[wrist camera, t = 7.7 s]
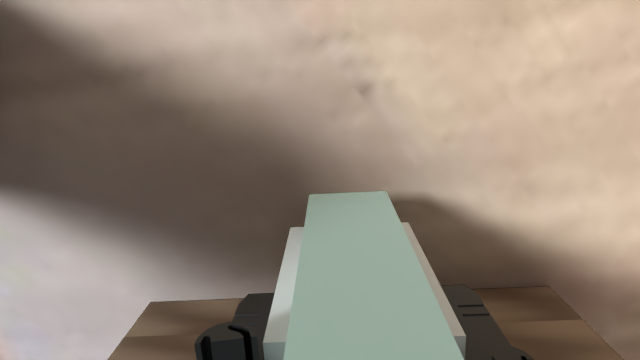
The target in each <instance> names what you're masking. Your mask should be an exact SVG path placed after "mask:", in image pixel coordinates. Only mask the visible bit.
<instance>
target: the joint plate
mask: <svg viewBox="0 0 640 360" xmlns="http://www.w3.org/2000/svg"><path fill="white" fill-rule="evenodd" d="M283 360H464V358H463V356H462V354H461V352H460V349H459V347H458V345H457V343H456V341H455V339H454V336H453V334H452V332H451V330H450V328H449V326H448V323H447V321H446V319H445V317H444V315H443V313H442V310H441V308H440V306H439V304H438V302H437V300H436V297H435V295H434V293H433V291H432V289H431V287H430V284H429V282H428V280H427V278H426V276H425V274H424V271H423V269H422V267H421V265H420V263H419V261H418V258H417V256H416V254H415V252H414V250H413V248H412V245H411V243H410V241H409V239H408V237H407V235H406V233H405V230H404V228H403V226H402V224H401V222H400V220H399V217H398V215H397V213H396V211H395V209H394V207H393V204H392V202H391V200H390V198H389V196H388V194H387V191H373V192H351V193H329V194H309V199H308V205H307V211H306V218H305V224H304V231H303V237H302V243H301V250H300V256H299V262H298V269H297V275H296V282H295V288H294V294H293V301H292V307H291V314H290V320H289V326H288V333H287V339H286V345H285V352H284V358H283Z"/></svg>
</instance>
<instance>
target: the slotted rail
mask: <svg viewBox="0 0 640 360" xmlns="http://www.w3.org/2000/svg"><path fill="white" fill-rule="evenodd" d="M471 290H472V291H474V292H475V293H477V294H478V296H479V298H480V299H481V301H482V302H483V304H484V307H486V308H487V310H488V311H489V313H490V316H492V317H493V319H494V321H495V322H496V324H497V325H498V327H499V328H500V330H501V331H502V333H503V334H504V336H505V337H506V339H507V340H508V342H509V344H510V345H511V346H513V347H515V348H518V349H520V350H523V351H524V352H526V353H527V354H529V355H530V356H531V357H533V358H534V360H623V359H622V358H621V357H620V356H619V355H618V354H617V353H616V352H615V351H614V350H613V349H612V348H611V347H610V346H609V345H608V344H607V343H606V342H605V341H604V340H603V339H602V338H601V337H600V336H599V335H598V334H597V333H596V332H595V331H594V330H593V329H592V328H591V327H590V326H589V325H588V324H587V323H586V322H585V321H584V320H583V319H582V318H581V317H580V316H579V315H578V314H577V313H576V312H575V311H574V310H573V309H572V308H571V307H570V306H569V305H568V304H567V303H566V302H565V301H564V300H563V299H562V298H560V297H559V296H558V295H557V294H556V293H555V292H554V291H553V290H552V289H551V288H550V287H549V286H542V287H517V288H492V289H471ZM242 300H243V299H220V300H195V301H171V302H150V304H149V305H148V306H147V308H146V309H145V310H144V312H143V313H142V314H141V316H140V317H139V318H138V320H137V321H136V322H135V324H134V325H133V326H132V328H131V329H130V330H129V332H128V333H127V334H126V336H125V337H124V338H123V340H122V341H121V342H120V344H119V345H118V346H117V348H116V349H115V350H114V352H113V353H112V354H111V356H110V357H109V358H108V360H197V358H196V352H195V346H194V343H195V342H196V340H197V338H198V336H199V335H201V334H202V333H203V332H204V331H205V330H207V329H209V328H211V327H213V326H215V325H217V324H221V323H226V322H232V320H233V317H234V314H235V312H236V309H237V307H238V304H239V303H240V302H241V301H242Z"/></svg>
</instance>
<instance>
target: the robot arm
mask: <svg viewBox="0 0 640 360" xmlns="http://www.w3.org/2000/svg"><path fill="white" fill-rule="evenodd" d="M401 224H402V226H403V228H404V230H405V233H406V235H407V237H408V239H409V241H410V243H411V245H412V248H413V250H414V252H415V254H416V256H417V258H418V261H419V263H420V265H421V267H422V269H423V271H424V274H425V276H426V278H427V280H428V282H429V284H430V287H431V289H432V291H433V293H434V295H435V297H436V300H437V302H438V304H439V306H440V308H441V310H442V313H443V315H444V317H445V319H446V321H447V323H448V326H449V328H450V330H451V332H452V334H453V336H454V339H455V341H456V343H457V345H458V347H459V349H460V352H461V354H462V356H463V358H464V360H534V358H533V357H531V356H530V355H529V354H527V353H526V352H524V351H523V350H520V349H518V348H515V347H513V346H511V345H510V344H509V342H508V340H507V339H506V337H505V336H504V334H503V333H502V331H501V330H500V328H499V327H498V325H497V324H496V322H495V321H494V319H493V317H492V316H490V313H489V311H488V310H487V308H486V307H484V304H483V302H482V301H481V299H480V298H479V296H478V294H477V293H475V292H474V291H472V290H471V289H470V288H468V287H467V286H465V285H440V284H439V282H438V280H437V278H436V276H435V274H434V272H433V270H432V268H431V266H430V264H429V262H428V260H427V258H426V256H425V254H424V252H423V250H422V248H421V246H420V244H419V242H418V240H417V238H416V236H415V235H414V233H413V231H412V229H411V227H410V225H409V223H408V222H402V223H401ZM303 231H304V227H290V231H289V236H288V240H287V244H286V248H285V252H284V256H283V261H282V265H281V269H280V273H279V277H278V281H277V286H276V290H275V293H261V294H248V295H247V296H246V297H245V298H244V299H243V300H242V301H241V302H240V303H239V304H238V307H237V309H236V312H235V314H234V317H233V320H232V322H226V323H221V324H217V325H215V326H213V327H211V328H209V329H207V330H205V331H204V332H203V333H202V334H201V335H199V336H198V338H197V340H196V342H195V343H194V346H195V352H196V358H197V360H283V358H284V352H285V345H286V339H287V333H288V326H289V320H290V314H291V307H292V301H293V294H294V288H295V282H296V275H297V269H298V262H299V256H300V250H301V243H302V237H303Z"/></svg>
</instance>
